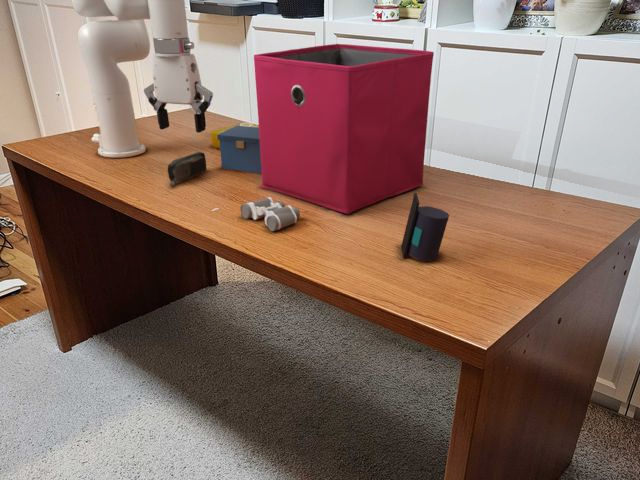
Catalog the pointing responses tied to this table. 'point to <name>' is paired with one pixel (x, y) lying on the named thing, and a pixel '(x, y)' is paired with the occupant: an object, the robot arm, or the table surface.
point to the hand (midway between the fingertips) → (182, 129)
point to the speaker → (424, 231)
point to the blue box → (241, 149)
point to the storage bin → (343, 122)
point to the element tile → (215, 132)
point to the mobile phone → (186, 167)
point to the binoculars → (271, 213)
